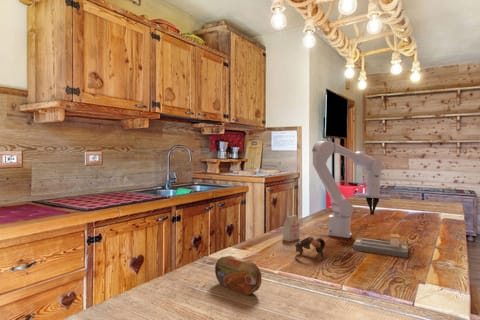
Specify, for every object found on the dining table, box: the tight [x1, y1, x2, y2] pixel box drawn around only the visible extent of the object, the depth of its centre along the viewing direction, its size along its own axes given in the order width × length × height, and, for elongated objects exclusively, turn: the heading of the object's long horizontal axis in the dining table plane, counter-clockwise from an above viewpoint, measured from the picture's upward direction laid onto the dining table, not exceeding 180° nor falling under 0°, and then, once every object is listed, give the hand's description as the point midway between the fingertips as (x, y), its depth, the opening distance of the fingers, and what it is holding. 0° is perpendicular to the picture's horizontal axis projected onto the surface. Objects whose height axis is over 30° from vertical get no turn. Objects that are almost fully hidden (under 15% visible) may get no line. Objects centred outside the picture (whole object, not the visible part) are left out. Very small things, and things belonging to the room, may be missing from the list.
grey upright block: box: [282, 214, 301, 242], centre depth 140 cm, size 4×7×10 cm, turn 135°
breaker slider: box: [389, 233, 400, 247], centre depth 126 cm, size 3×4×4 cm
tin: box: [214, 255, 262, 296], centre depth 90 cm, size 15×3×8 cm, turn 50°
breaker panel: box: [352, 236, 409, 259], centre depth 128 cm, size 19×12×3 cm, turn 64°
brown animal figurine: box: [294, 236, 326, 262], centre depth 119 cm, size 12×10×8 cm
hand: (372, 214), depth 150 cm, fingers closed
